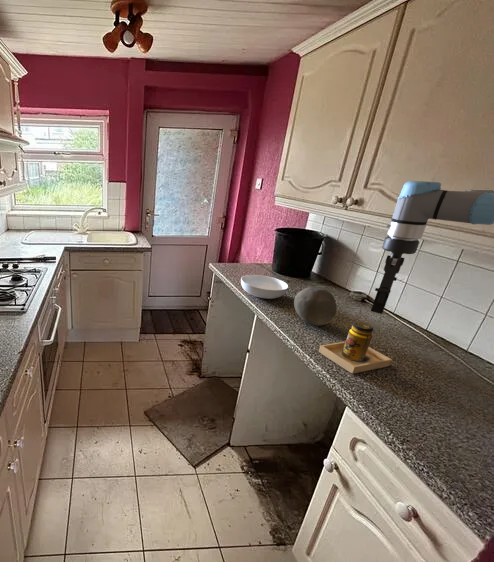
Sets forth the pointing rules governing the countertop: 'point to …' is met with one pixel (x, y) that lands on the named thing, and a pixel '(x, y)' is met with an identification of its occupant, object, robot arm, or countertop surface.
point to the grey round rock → (315, 305)
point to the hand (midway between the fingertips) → (378, 305)
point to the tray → (373, 363)
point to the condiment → (357, 343)
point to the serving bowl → (263, 286)
